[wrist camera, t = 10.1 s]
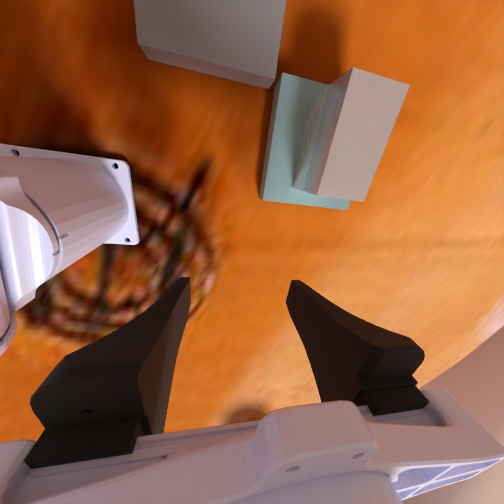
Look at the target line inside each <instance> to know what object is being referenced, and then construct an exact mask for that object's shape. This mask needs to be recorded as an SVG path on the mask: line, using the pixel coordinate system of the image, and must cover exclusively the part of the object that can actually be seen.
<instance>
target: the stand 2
mask: <svg viewBox="0 0 504 504" xmlns="http://www.w3.org/2000/svg"><path fill="white" fill-rule="evenodd" d="M327 86H329V85H328V84H324V83H320V82H316V81H313V80H309V79H305V78H302V77H298V76H294V75H290V74H287V73H283V72H282V74H281V75H280V77H279V78H278V80H277V81H276V83H275V89H274V96H273V103H272V110H271V117H270V124H269V130H268V137H267V144H266V151H265V158H264V165H263V172H262V179H261V186H260V192H259V198H261V199H262V200H265V201H274V202H283V203H291V204H300V205H309V206H318V207H326V208H335V209H344V210H347V209H348V206H349V204H350V201H351V200H347V199H340V198H333V197H326V196H319V195H314V194H311V193H308V192H305V191H302V190H298V189H295V188H292V187H293V182H294V178H295V174H296V169H297V165H298V160H299V156H300V151H301V147H302V142H303V138H304V134H305V129H306V125H307V120H308V116H309V111H310V107H311V102H312V98H313V97H314V96H315V95H317V94H318V93H319V92H321V91H322V90H323V89H325V88H326V87H327Z"/></svg>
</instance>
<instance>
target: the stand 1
mask: <svg viewBox="0 0 504 504" xmlns="http://www.w3.org/2000/svg"><path fill="white" fill-rule="evenodd" d="M133 1H134V11H135V21H136V32H137V42H138V45H139V46H140V48H141V49H142V51H143V52H144V54H145V55H146V57H147V58H148V60H151V61H155V62H160V63H164V64H168V65H172V66H176V67H180V68H184V69H188V70H192V71H196V72H200V73H204V74H209V75H213V76H217V77H221V78H225V79H229V80H233V81H237V82H241V83H245V84H249V85H253V86H257V87H262V88H266V89H269V88H270V87H271V85H272V83H273V82H274V80H275V76H276V69H277V62H278V55H279V48H280V41H281V34H282V27H283V21H284V14H285V7H286V0H133Z"/></svg>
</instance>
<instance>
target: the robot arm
mask: <svg viewBox="0 0 504 504" xmlns="http://www.w3.org/2000/svg"><path fill="white" fill-rule="evenodd" d="M16 150H17V151H18V152H19V154H20V155H18V154H17V153H16ZM114 163H117V164H118V169H116V168H115V167H114ZM126 238H129V239H130V241H128V240H127V239H126ZM139 240H140V239H139V232H138V225H137V218H136V211H135V203H134V196H133V189H132V182H131V175H130V167H129V165H128V163H127V162H125V161H122V160H115V159H108V158H101V157H94V156H86V155H79V154H72V153H65V152H58V151H50V150H43V149H36V148H29V147H22V146H14V145H7V144H0V355H1V354H2V353H3V352H4V351H5V350H6V349H7V347H8V346H9V345H10V343H11V342H12V340H13V338H14V336H15V333H16V328H17V323H16V319H15V315H14V313H13V312H15V311H17V310H18V309H20V308H21V307H22V306H24V305H25V304H27V303H28V302H29V301H31V300H32V299H34V298H35V291H36V289H37V288H38V287H39V286H40V285H41V284H42V283H44V282H45V281H47V280H48V279H50V278H51V277H53V276H54V275H56V274H58V273H59V272H61V271H62V270H64V269H65V268H67V267H68V266H70V265H71V264H73V263H74V262H76V261H77V260H79V259H80V258H82V257H83V256H85V255H86V254H88V253H89V252H91V251H92V250H94V249H95V248H97V247H98V246H100V245H101V244H103V243H111V244H129V245H136V244H137V243H139ZM190 302H191V298H190V277H180V278H179V279H178V280H177V281H176V282H175V284H174V285H173V286H172V287H171V288H170V289H169V290H168V291H167V292H166V293H165V294H164V295H163V296H162V297H161V298H160V299H158V300H157V301H156V302H155V303H154V304H153V305H152V306H150V307H149V308H148V309H147V310H146V311H144V312H143V313H142V314H140V315H139V316H138V317H136V318H135V319H133V320H131V321H130V322H128V323H127V324H125V325H124V326H122V327H121V328H119V329H117V330H116V331H114V332H112V333H110V334H108V335H107V336H105V337H103V338H101V339H99V340H97V341H95V342H93V343H91V344H89V345H87V346H85V347H83V348H81V349H79V350H77V351H75V352H72V353H70V354H68V355H66V356H65V357H64V358H63V359H62V360H61V361H60V362H59V363H58V365H57V366H56V367H55V368H54V369H53V370H52V372H51V373H50V374H49V375H48V377H47V378H46V379H45V380H44V382H43V383H42V384H41V385H40V387H39V388H38V389H37V390H36V391H35V393H34V394H33V395H32V396H31V400H30V405H31V408H32V410H33V412H34V413H35V415H36V416H37V418H38V419H39V420H40V422H41V423H42V425H43V426H44V427H45V430H44V431H43V433H42V434H41V436H40V437H39V439H38V440H37V442H36V441H33V440H16V441H8V442H0V504H403V502H402V501H401V500H404V499H407V498H410V497H413V496H416V495H419V494H421V493H424V492H427V491H430V490H433V489H436V488H439V487H442V486H446V485H449V484H452V483H455V482H459V481H462V480H466V479H470V478H472V477H473V476H475V475H477V474H479V473H480V472H482V471H484V470H486V469H487V468H489V467H491V466H492V465H494V464H496V463H498V462H499V461H501V460H503V459H504V447H503V446H502V445H501V444H500V443H499V442H498V441H497V440H496V439H495V438H494V437H493V436H492V435H491V434H490V433H489V432H488V431H487V430H486V429H485V428H484V427H483V426H482V425H481V424H480V423H479V422H478V421H477V420H476V419H475V418H474V417H473V416H472V415H471V414H470V413H469V412H468V411H467V410H466V409H465V408H464V407H463V406H462V405H461V404H460V403H459V402H458V401H457V400H456V399H454V397H453V396H452V395H451V394H450V393H449V392H448V391H447V390H446V389H445V388H443V387H436V388H428V389H424V390H422V391H420V390H419V389H418V388H417V387H416V386H415V385H416V384H417V381H416V380H415V378H414V377H413V376H412V374H413V373H414V372H415V371H416V370H417V368H418V367H419V366H420V365H421V363H422V362H423V360H424V357H425V355H424V351H423V350H422V349H421V348H420V347H419V346H418V345H417V344H416V343H415V342H414V341H413V340H412V339H410V338H409V337H406V336H403V335H400V334H397V333H394V332H391V331H389V330H386V329H383V328H381V327H378V326H376V325H374V324H371V323H369V322H367V321H365V320H362V319H360V318H358V317H356V316H354V315H352V314H350V313H349V312H347V311H345V310H343V309H341V308H340V307H338V306H336V305H335V304H333V303H332V302H330V301H329V300H327V299H326V298H324V297H323V296H321V295H320V294H319V293H317V292H316V291H314V290H313V289H312V288H310V287H309V286H307V285H306V284H305V283H303V282H302V281H300V280H292V281H291V284H290V288H289V292H288V296H287V299H286V304H287V308H288V311H289V314H290V316H291V318H292V321H293V323H294V325H295V327H296V329H297V331H298V334H299V336H300V338H301V340H302V342H303V345H304V347H305V350H306V353H307V356H308V358H309V361H310V364H311V368H312V371H313V374H314V377H315V380H316V384H317V387H318V391H319V394H320V398H321V402H322V403H315V404H307V405H299V406H292V407H285V408H282V409H278V410H274V411H273V412H271V413H269V414H267V415H266V416H264V417H263V419H262V420H256V421H249V422H242V423H235V424H228V425H220V426H213V427H206V428H199V429H191V430H184V431H177V432H170V433H163V432H164V426H165V420H166V414H167V408H168V402H169V396H170V390H171V385H172V379H173V374H174V369H175V363H176V358H177V353H178V349H179V346H180V342H181V339H182V336H183V332H184V329H185V325H186V322H187V318H188V314H189V308H190Z"/></svg>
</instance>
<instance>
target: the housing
mask: <svg viewBox="0 0 504 504" xmlns="http://www.w3.org/2000/svg"><path fill="white" fill-rule="evenodd" d="M409 86H410V85H408V84H405V83H402V82H398V81H395V80H392V79H389V78H386V77H383V76H379V75H376V74H373V73H370V72H367V71H364V70H360V69H357V68H354V67H353V68H352V69H350V70H349V71H348V72H346V73H345V74H344V75H342V76H341V77H340V78H338V79H337V80H335V81H334V82H333V83H331V84H330V85H329V86H327V87H326V88H325V89H323V90H322V91H321V92H319V93H318V94H317V95H315V96H314V97H313V98H312V102H311V107H310V111H309V116H308V120H307V125H306V129H305V134H304V138H303V142H302V147H301V151H300V156H299V160H298V165H297V169H296V174H295V178H294V182H293V187H292V188H295V189H298V190H302V191H305V192H308V193H311V194H314V195H319V196H326V197H333V198H340V199H347V200H354V201H361V202H364V200H365V197H366V195H367V192H368V190H369V187H370V185H371V182H372V180H373V177H374V175H375V172H376V170H377V167H378V165H379V162H380V160H381V157H382V155H383V152H384V149H385V147H386V144H387V142H388V139H389V137H390V134H391V132H392V129H393V127H394V124H395V122H396V119H397V117H398V114H399V112H400V109H401V106H402V104H403V101H404V99H405V96H406V94H407V91H408V89H409Z"/></svg>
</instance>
